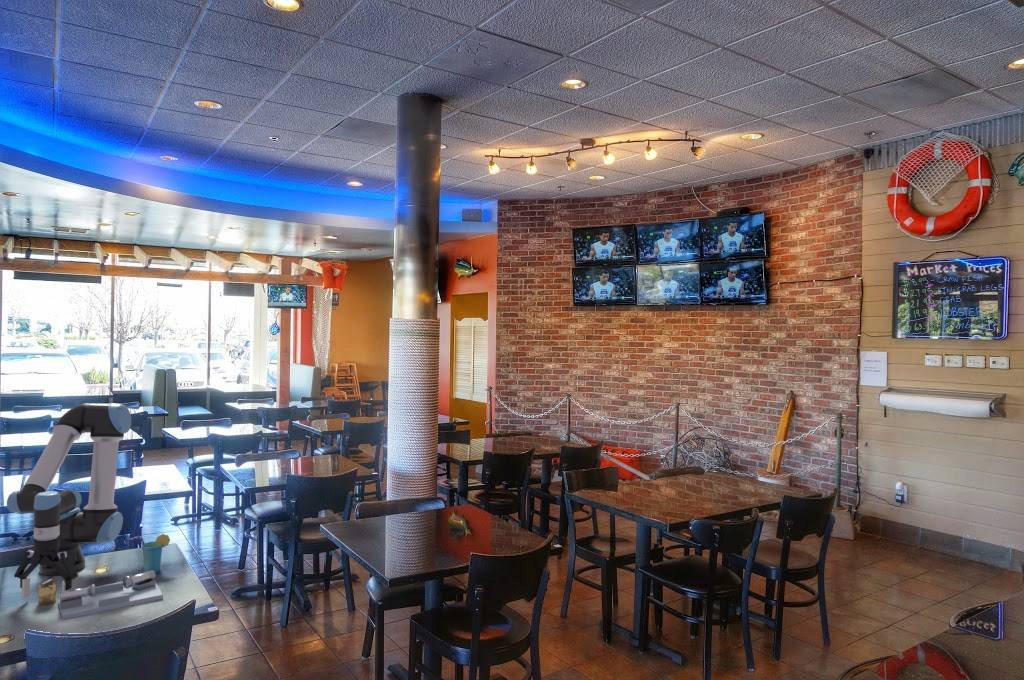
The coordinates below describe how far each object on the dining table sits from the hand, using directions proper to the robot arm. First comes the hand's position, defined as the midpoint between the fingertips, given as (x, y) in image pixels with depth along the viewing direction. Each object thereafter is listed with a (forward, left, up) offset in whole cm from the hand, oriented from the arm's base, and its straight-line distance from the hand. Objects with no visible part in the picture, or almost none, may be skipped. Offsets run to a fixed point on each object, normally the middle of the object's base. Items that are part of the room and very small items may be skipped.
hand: (45, 598), depth 241 cm
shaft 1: (+11, +8, +2) cm, 14 cm away
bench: (+11, +18, -1) cm, 21 cm away
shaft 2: (+7, +28, 0) cm, 29 cm away
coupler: (0, 0, -2) cm, 2 cm away
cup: (-12, +34, -2) cm, 37 cm away
